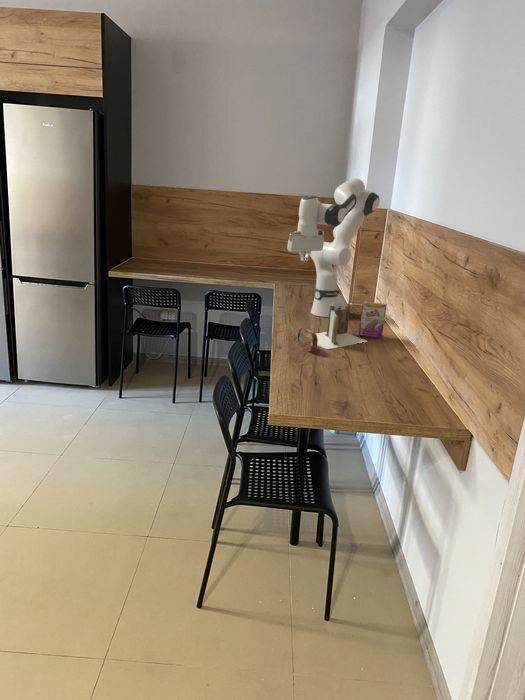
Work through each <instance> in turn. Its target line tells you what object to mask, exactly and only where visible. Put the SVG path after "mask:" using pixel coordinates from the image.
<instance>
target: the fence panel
mask: <svg viewBox="0 0 525 700" xmlns="http://www.w3.org/2000/svg"><path fill="white" fill-rule="evenodd" d="M337 326H338V316H336V314H335V312H334V311H332V310H331V317H330V326H329V337H330V339H331V342H332V343H336V336H337Z"/></svg>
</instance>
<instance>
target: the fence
mask: <svg viewBox="0 0 525 700" xmlns="http://www.w3.org/2000/svg"><path fill="white" fill-rule="evenodd" d="M331 310H332V311H334V312H335V314H336V316H338V326H337V334H342V333H347V334H348V330H349V329H348V328H349V321H350V311H351V306H350V305H346V306H345V309H338V310H335V306H330V309H329V317H327V318H328V320H327V321H328V322H327V330H326V332H327V335H328V336H329V326H330V317H331Z"/></svg>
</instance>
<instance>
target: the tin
mask: <svg viewBox="0 0 525 700" xmlns="http://www.w3.org/2000/svg"><path fill="white" fill-rule="evenodd" d="M316 334H317V333H315V332H314V331H312V330H310V329H308V328H306V327H300V329H299V330H298V333H297V342H298V345H299V346H300V347H301V348H302V349H303V350H305V351H306V352H309V353H310V352H315V351H316V350H317V347H318V346H317V342H318V339H317V335H316Z"/></svg>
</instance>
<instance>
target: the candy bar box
mask: <svg viewBox="0 0 525 700" xmlns="http://www.w3.org/2000/svg"><path fill="white" fill-rule="evenodd" d="M387 305H388V304H387V303H382V302H381V303H380V302H374V301H367V300H363V303H362V307H361V314H360V322H359V328H358V336H359V335H361V337H366V336H368V338H373V337H374V339H380V338H381V339H382V338H383V332H384V325H385V319H386V313H387V312H386V311H387V308H388V307H387Z"/></svg>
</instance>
